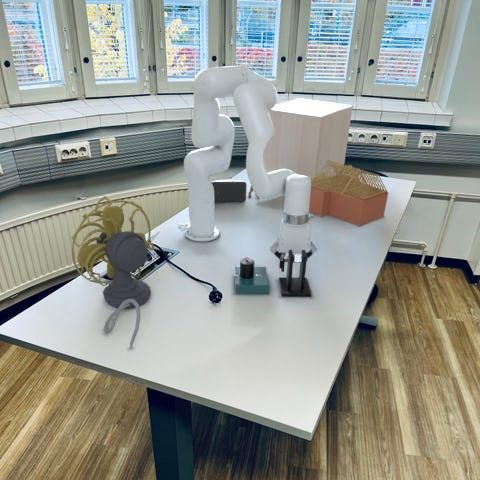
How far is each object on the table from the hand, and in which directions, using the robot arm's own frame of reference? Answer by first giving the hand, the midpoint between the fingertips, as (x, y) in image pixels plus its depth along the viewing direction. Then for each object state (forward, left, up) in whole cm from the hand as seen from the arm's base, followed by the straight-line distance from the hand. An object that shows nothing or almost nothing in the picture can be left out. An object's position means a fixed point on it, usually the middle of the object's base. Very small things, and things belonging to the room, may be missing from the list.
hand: (292, 269), depth 151 cm
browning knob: (-15, -6, +1) cm, 16 cm away
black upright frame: (0, -8, -2) cm, 9 cm away
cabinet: (+17, +100, -2) cm, 101 cm away
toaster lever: (0, -5, +5) cm, 7 cm away
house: (+29, +57, -2) cm, 64 cm away
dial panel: (-14, -6, -2) cm, 15 cm away
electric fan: (-47, -20, -2) cm, 51 cm away
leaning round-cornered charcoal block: (-21, +67, -3) cm, 70 cm away
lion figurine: (-6, +77, -3) cm, 77 cm away
